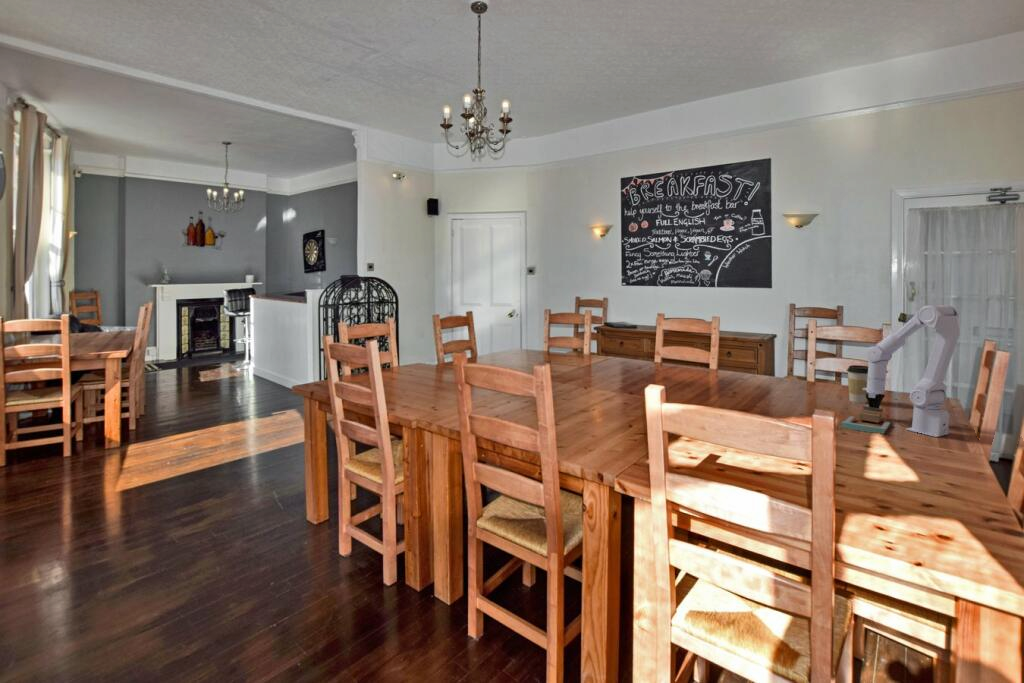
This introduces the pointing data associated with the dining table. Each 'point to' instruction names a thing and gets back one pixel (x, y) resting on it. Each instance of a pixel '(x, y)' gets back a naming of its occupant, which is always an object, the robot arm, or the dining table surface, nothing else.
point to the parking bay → (864, 426)
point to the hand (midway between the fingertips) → (873, 413)
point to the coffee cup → (857, 383)
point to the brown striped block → (871, 414)
